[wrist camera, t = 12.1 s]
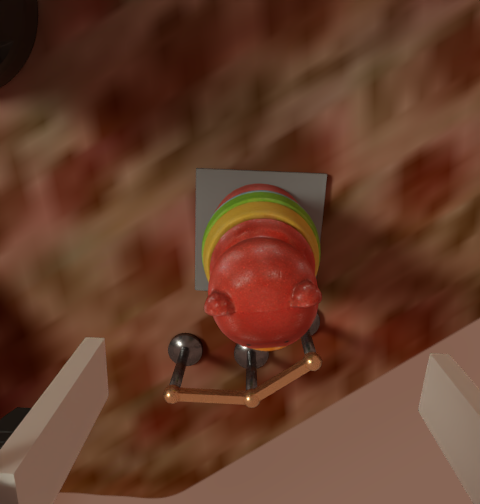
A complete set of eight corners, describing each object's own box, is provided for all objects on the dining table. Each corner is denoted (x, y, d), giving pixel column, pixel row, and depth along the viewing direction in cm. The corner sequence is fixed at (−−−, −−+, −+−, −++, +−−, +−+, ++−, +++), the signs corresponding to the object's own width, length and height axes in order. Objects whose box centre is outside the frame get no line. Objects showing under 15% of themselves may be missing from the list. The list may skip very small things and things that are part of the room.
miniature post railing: (168, 297, 42) (148, 339, 33) (320, 304, 41) (337, 348, 33) (169, 362, 44) (150, 416, 36) (313, 369, 44) (328, 425, 35)
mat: (196, 167, 38) (196, 168, 37) (326, 173, 37) (327, 174, 37) (195, 287, 41) (195, 290, 41) (313, 293, 41) (314, 295, 40)
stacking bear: (205, 284, 40) (171, 397, 23) (199, 181, 37) (157, 227, 20) (313, 282, 40) (360, 397, 23) (317, 179, 37) (373, 223, 20)
